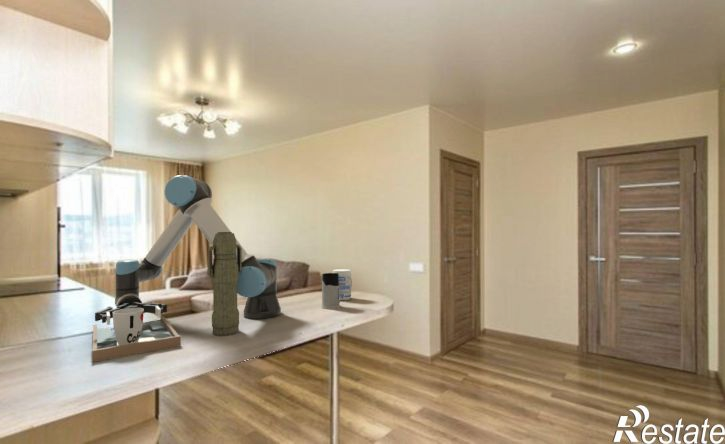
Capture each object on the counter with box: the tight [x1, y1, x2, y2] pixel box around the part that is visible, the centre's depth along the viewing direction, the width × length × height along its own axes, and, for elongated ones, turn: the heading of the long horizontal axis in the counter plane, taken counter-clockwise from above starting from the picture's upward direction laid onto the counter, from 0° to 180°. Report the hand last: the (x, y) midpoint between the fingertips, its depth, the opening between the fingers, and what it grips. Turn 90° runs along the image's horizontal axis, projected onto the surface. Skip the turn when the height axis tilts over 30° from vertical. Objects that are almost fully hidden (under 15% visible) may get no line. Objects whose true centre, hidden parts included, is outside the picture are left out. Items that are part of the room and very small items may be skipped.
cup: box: [112, 308, 145, 345], centre depth 112 cm, size 8×8×10 cm
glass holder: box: [320, 272, 353, 310], centre depth 167 cm, size 9×14×15 cm, turn 93°
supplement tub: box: [332, 268, 352, 301], centre depth 185 cm, size 10×10×15 cm
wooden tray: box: [91, 315, 182, 363], centre depth 121 cm, size 36×22×3 cm, turn 36°
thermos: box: [206, 231, 242, 337], centre depth 127 cm, size 9×12×35 cm
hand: (134, 316), depth 114 cm, fingers open, 13 cm apart
